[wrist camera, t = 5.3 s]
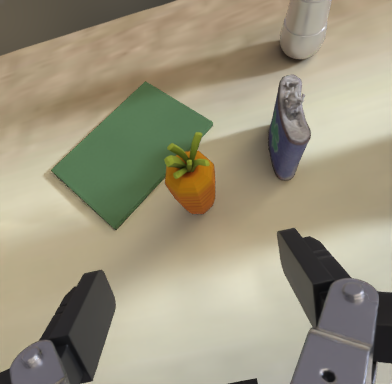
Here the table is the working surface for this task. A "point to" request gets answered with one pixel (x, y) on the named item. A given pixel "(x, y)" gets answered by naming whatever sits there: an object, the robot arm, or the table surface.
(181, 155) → the carrot
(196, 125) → the green mat
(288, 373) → the table surface
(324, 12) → the plastic bottle
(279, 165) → the flask
